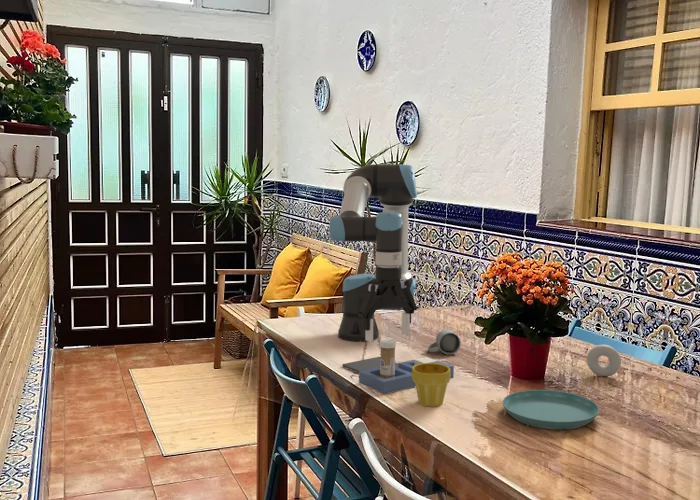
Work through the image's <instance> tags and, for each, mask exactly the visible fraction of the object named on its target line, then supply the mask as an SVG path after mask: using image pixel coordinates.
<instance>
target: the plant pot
mask: <svg viewBox="0 0 700 500" xmlns="http://www.w3.org/2000/svg"><path fill="white" fill-rule="evenodd" d="M412 380H413V381H414V382H415V390H416V395H417V400H418V404H420V405H422V406H425V407H432V408H433V407H439V406H441V405H443V403H444V400H445V396H446V391H447V389H448V388H447V387H448V384H449V383H450V381H451V378H450V368H449V367H448V366H446V365H443V364H438V363H422V364H417V365H415V366H413V368H412Z"/></svg>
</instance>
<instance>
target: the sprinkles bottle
mask: <svg viewBox="0 0 700 500" xmlns="http://www.w3.org/2000/svg"><path fill="white" fill-rule="evenodd" d="M396 345H397V343H396V340H395V339H393V338H383V339H380V340H379V346H380V357H381V359H380V377H382V378H384V379H387V378H392V377H395V363H396Z"/></svg>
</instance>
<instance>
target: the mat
mask: <svg viewBox="0 0 700 500" xmlns="http://www.w3.org/2000/svg"><path fill="white" fill-rule="evenodd" d="M380 359H381V356H375V357H371V358H366V359H365V358H364V359H361V360H356V361H351V362H346V363H342V365H341V366H342V368H345V369H348V370H350V371H352V372H355V373H357V374H359V371H364V370H369V369H373V368H378V367H380ZM398 363H399V362H395V367H398Z"/></svg>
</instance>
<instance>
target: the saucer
mask: <svg viewBox="0 0 700 500" xmlns="http://www.w3.org/2000/svg"><path fill="white" fill-rule="evenodd" d="M502 405H503V408H504V410H505V411H506V412H507V413H508V414H509V415H510V416H511V417H512V418H514V419H515V420H516V421H518V422H520V423H522V424H524V423H525V425H527V424H528V425H527V426H530V425H531V426H530V427H534V426H535V428H539V427H541V428H540V429H545V428H548V429H547V430H556V429H564V430H573V429H572V428H574V429H578V428H582V427H583V426H585V425H586V426H587V425H588V424H590V423H591V422H592V421H594V419H595V418H596V417H597V416H598V414H599V413H600V407H599V406H598V404H597V403H596V402H594V401H592V400H591V399H589V398H587V397H584V396H581V395H579V394H575V393H571V392H565V391H560V390H559V391H558V390H548V389H531V390H523V391H522V390H521V391H516V392H513V393H510V394H508V395H506V396H505V397H504V398H503V399H502ZM581 426H582V427H581Z"/></svg>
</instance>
